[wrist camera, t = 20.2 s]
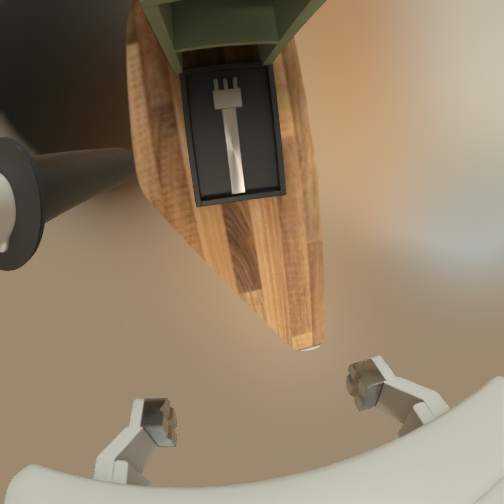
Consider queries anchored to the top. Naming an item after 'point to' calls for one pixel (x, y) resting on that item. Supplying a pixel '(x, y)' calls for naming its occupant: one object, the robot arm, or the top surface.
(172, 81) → the top surface
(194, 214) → the top surface
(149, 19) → the shelf
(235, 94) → the fork
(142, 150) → the top surface
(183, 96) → the tray
